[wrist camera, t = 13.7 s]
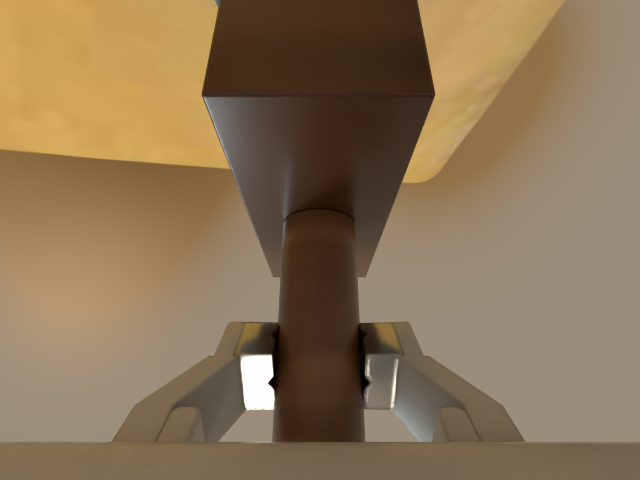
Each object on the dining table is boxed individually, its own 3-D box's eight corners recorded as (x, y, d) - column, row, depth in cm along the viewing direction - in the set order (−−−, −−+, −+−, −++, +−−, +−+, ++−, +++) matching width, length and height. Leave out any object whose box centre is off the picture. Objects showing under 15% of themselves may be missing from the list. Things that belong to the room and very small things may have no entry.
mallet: (221, -16, 8) (56, 814, 3) (415, -16, 8) (576, 814, 3) (276, 213, 18) (259, 492, 13) (362, 213, 18) (378, 492, 13)
